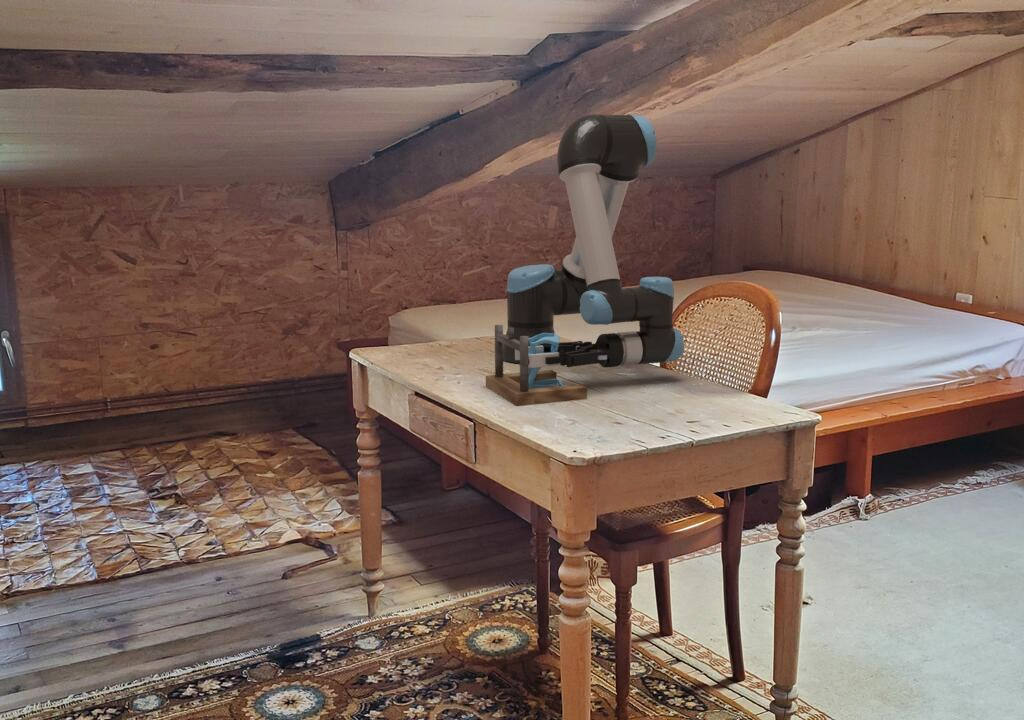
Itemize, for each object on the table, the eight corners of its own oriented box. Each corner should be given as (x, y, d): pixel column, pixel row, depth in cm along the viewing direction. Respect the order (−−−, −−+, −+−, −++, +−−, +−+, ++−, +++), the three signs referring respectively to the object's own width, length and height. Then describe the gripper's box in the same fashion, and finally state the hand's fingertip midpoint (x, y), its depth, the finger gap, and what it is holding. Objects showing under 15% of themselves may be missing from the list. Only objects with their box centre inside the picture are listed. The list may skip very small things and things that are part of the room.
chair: (522, 383, 220) (522, 330, 218) (559, 382, 221) (560, 329, 218) (526, 392, 213) (526, 336, 210) (564, 390, 213) (565, 336, 211)
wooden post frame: (551, 380, 228) (551, 317, 225) (586, 398, 210) (587, 330, 207) (485, 386, 222) (485, 322, 219) (516, 405, 205) (516, 336, 202)
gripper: (639, 375, 213) (541, 384, 205) (597, 357, 232) (505, 365, 224) (639, 340, 211) (541, 348, 203) (597, 325, 230) (505, 332, 222)
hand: (522, 357), depth 214 cm, fingers closed on chair, 8 cm apart
